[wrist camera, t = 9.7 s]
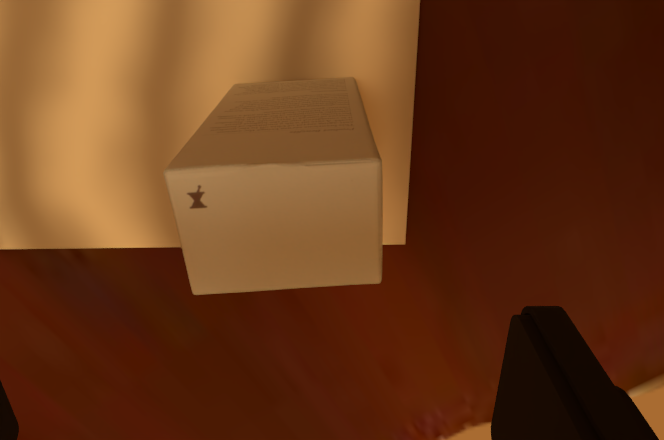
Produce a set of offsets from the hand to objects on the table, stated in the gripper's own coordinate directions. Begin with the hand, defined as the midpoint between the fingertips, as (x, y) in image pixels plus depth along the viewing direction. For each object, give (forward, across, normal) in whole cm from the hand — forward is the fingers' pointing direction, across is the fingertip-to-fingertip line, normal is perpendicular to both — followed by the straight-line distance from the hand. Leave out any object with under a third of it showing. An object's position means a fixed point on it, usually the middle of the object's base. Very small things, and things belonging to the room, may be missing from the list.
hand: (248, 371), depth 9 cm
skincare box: (+18, 0, 0) cm, 18 cm away
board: (+19, +7, 0) cm, 20 cm away
